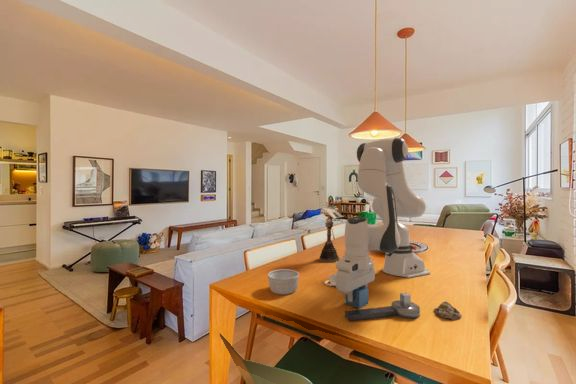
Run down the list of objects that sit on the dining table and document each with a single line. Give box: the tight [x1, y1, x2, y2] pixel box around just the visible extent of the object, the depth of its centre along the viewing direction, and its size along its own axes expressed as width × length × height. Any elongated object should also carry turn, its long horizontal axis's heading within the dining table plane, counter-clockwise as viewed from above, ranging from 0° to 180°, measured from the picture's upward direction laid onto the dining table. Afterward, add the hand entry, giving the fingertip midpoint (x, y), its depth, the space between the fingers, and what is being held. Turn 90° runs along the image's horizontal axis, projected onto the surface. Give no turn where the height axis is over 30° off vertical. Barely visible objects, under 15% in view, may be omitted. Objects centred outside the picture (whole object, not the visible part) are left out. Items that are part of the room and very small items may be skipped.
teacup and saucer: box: [324, 273, 336, 287], centre depth 124 cm, size 9×8×4 cm
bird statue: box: [319, 201, 346, 263], centre depth 162 cm, size 17×13×35 cm
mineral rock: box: [433, 301, 463, 321], centre depth 94 cm, size 11×4×8 cm
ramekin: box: [267, 268, 300, 296], centre depth 116 cm, size 13×13×7 cm
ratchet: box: [344, 292, 421, 323], centre depth 93 cm, size 26×9×6 cm, turn 101°
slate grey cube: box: [344, 286, 369, 310], centre depth 102 cm, size 6×6×6 cm
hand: (356, 298), depth 102 cm, fingers closed on slate grey cube, 6 cm apart
